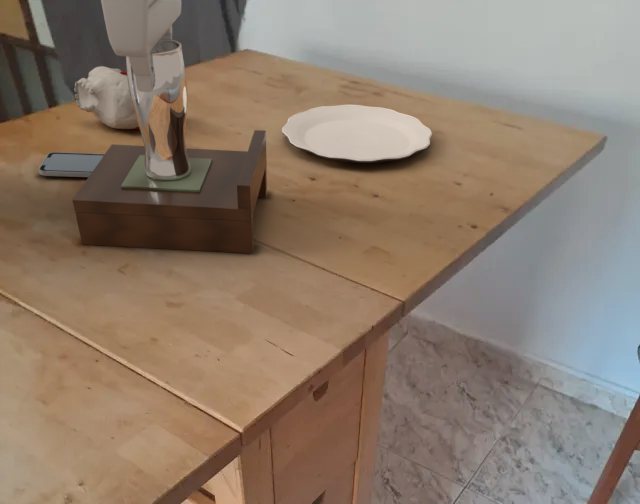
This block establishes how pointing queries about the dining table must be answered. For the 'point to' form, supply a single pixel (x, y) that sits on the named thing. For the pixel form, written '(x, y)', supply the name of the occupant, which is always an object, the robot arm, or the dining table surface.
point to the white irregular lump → (107, 97)
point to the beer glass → (163, 113)
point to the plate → (357, 133)
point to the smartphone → (69, 164)
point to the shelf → (174, 200)
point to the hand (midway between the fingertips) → (155, 77)
